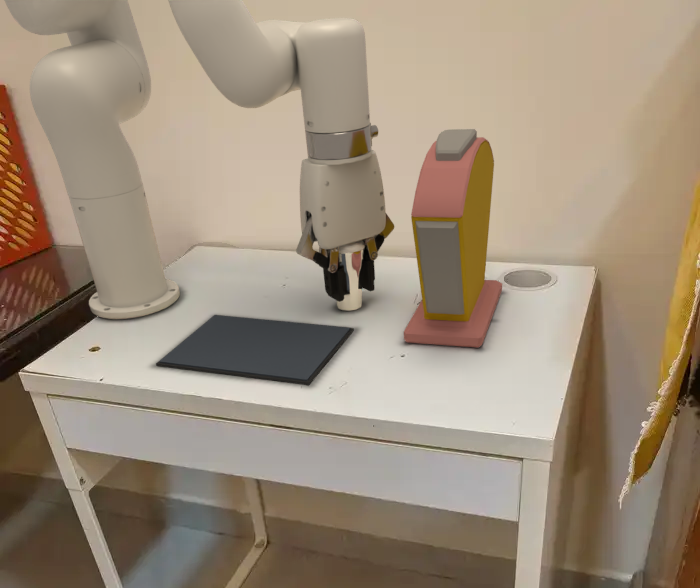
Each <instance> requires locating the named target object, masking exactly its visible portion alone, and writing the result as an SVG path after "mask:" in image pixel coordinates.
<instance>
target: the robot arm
mask: <svg viewBox="0 0 700 588" xmlns="http://www.w3.org/2000/svg"><path fill="white" fill-rule="evenodd" d="M3 1H4V3H5V5H6V7H7V9H8V11H9V13H10V15H11V16H12V18H13V19H14V20H15V21H16V22H17V24H18V25H19V26H20V27H21V28H23V29H24V30H26V31H27V32H28V33H31V34H35V35H38V36H55V35H62V34H66V35H67V37H68V40H69V42H70V45H69V46H64V47H61V48H57V49H55V50H52V51H50V52H48V53H47V54H46V55H44V56H43V57H42V58H40V60H39V61H38V62H37V64H35V66H34V68H33V70H32V73H31V75H30V79H29V96H30V101H31V105H32V107H33V110H34V113H35V115H36V118H37V120H38V122H39V124H40V126H41V128H42V131H43V132H44V134H45V136H46V137H47V138H46V139H47V141H48V142H49V145H50V147H51V149H52V152H53V155H54V156H55V159H56V162H57V165H58V168H59V170H60V173H61V176H62V179H63V183H64V187H65V190H66V193H67V196H68V199H69V202H70V205H71V209H72V212H73V216H74V219H75V222H76V226H77V230H78V233H79V235H80V239H81V242H82V246H83V249H84V253H85V256H86V260H87V262H88V266H89V269H90V272H91V276H92V279H93V283H94V287H95V289H96V292H94V293H93V294H92V295H91V296H90V298H89V300H88V306H89V309H90V312H91V313H92V314H93V315H95V316H97V317H100V318H102V319H110V320H124V319H127V320H128V319H135V318H140V317H144V316H148V315H151V314H154V313H157V312H160V311H162V310H164V309H167V308H168V307H170V306H171V305H173V304H174V303H175V302H176V301H177V300H179V297H180V295H181V293H180V287H179V285H178V283H177V282H175V281H174V280H172V279H169V278H166V276H165V272H164V267H163V264H162V259H161V254H160V251H159V246H158V243H157V238H156V234H155V229H154V226H153V221H152V217H151V212H150V209H149V205H148V200H147V196H146V192H145V189H144V188H145V187H144V184H143V181H142V176H141V172H140V168H139V165H138V160H137V159H136V156H135V154H134V151H133V149H132V147H131V146H130V144H129V141H128V139H127V138H126V136H125V135H124V132H123V130H122V129H121V126H120V125H121V124H123V123H126V122H128V121H130V120H131V119H133V118H135V117H137V116H138V115H140V114H141V113H142V112H143V111H144V110H145V108H146V107H147V106H148V103H149V100H150V98H151V94H152V78H151V71H150V68H149V64H148V61H147V57H146V54H145V51H144V48H143V44H142V42H141V38H140V34H139V31H138V29H137V26H136V21H135V19H134V17H133V13H132V10H131V7H130V4H129V1H128V0H3ZM167 1H168V4H169V7H170V10H171V12H172V15H173V17H174V20H175V22H176V24H177V27H178V28H179V31H180V32H181V34H182V36H183V38H184V40H185V41H186V43H187V45H188V46H189V48H190V50H191V52H192V53H193V55H194V57H195V58H196V59H197V61H198V63H199V64H200V66H201V68H202V69H203V71H204V72H205V74H206V76H207V77H208V78H209V80H210V81H211V83H212V84H213V85H214V87H215V88H216V89H217V91H218V92H220V94H221V95H222V96H223V97H224V98H225V99H227V100H228V101H229V102H231V103H232V104H234V105H235V106H238V107H240V108H245V109H257V108H262V107H264V106H265V105H268V104H270V103H271V102H273V101H275V100H276V99H278V98H280V97H284V96H286V95H287V94H289V93H291V92H295V91H300V95H301V96H300V97H301V106H302V115H303V116H302V117H303V123H304V124H303V125H304V133H305V143H306V151H307V158H304V159H302V160H301V165H300V175H299V214H300V216H299V217H300V228H301V237H300V239H299V242H298V244H297V246H296V249H295V252H296V254H297V255H299V256H301V257H303V258H305V259H307V260H310V261H312V262H314V263H315V264H316V265H318V267H320V268H321V269H322V273H323V283H324V291H325V293H326V295H327V296H328V297H330V298H332V299H334V300H335V301H336V300H337V301H339V302H340V301H343V299H344V289H343V277H342V272H341V271H340V270H338V256H339V246H343V245H346V244H350V243H353V242H357V241H360V240H362V241H363V242H364V244H365V248H364V262H363V280H362V289H363V290H365V291H368V292H373V291H375V281H376V271H375V261H376V259H377V258H378V256H379V254H378V252H379V250H380V249H381V247H382V246H383V245H384V243H385V239H387V238H388V237H389V235H391V233H393V231H394V230H395V224H394V222H393V221H392V219H391V218H390V216H389V215H388V213H387V211H386V200H385V191H384V189H385V188H384V183H383V178H382V177H383V176H382V172H381V168H380V162H379V158H378V155H377V152H376V150H374V149H372V147H373V139H374V138H378V136H379V128H378V125H376V124H373V125H372V123H371V117H370V115H371V114H370V113H371V112H370V97H369V96H370V95H369V80H368V64H367V63H368V61H367V44H366V33H365V29H364V26H363V24H362V22H360V21H359V20H357V19H356V18H352V17H331V18H330V17H329V18H320V19H315V20H310V21H294V20H293V21H292V20H285V19H265V20H261V21H258V22H256V21H255V19H254V17H253V15H252V14H251V12H250V10H249V9H248V7H247V4H246V3H245V2H244V0H167ZM366 239H367V241H366ZM316 242H317V245H318V251H317V250H315V249H314V248H313V246H314V243H316ZM365 242H366V243H365ZM337 301H336V302H337Z"/></svg>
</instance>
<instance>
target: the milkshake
mask: <svg viewBox="0 0 700 588" xmlns="http://www.w3.org/2000/svg"><path fill="white" fill-rule="evenodd" d="M366 241H367V239H366ZM365 243H366V242H365ZM364 248H365V244H364V242H363V241H362V240H360V241H357V242H353V243H350V244H346V245H343V246H339V256H338V270H340V271H341V272H342V277H343V289H344V299H343V301H340V302H339V301H337V300H335V301H336V307H337V309H339V310H342V311H348V312H349V311H356V310H359V309H360V308H362V306H363V305H362V304H363V302H362V301H363V288H362V280H363V262H364Z"/></svg>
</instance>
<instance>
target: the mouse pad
mask: <svg viewBox="0 0 700 588" xmlns="http://www.w3.org/2000/svg"><path fill="white" fill-rule="evenodd" d="M354 331H355V328H354V327H350V326H339V325H327V324H318V323H306V322H297V321H296V322H295V321H287V320H276V319H264V318H254V317H244V316H234V315H233V316H232V315H221V314H214V315H212V316H211V317H210V318H209V319H208V320H207V321H205V322H204V323H203V324H202V325H200V326H199V327H198V328H197V329H195V330H194V331H193V332H192V333H191V334H189V335H188V336H187V337H185V339H184V340H182V341H181V342H180V343H178V345H176V346H175V347H174V348H173V349H172V350H170V351H169V352H168V353H167V354H166V355H164V356H162V358H161V359H160V360H158V361H157V362H156V363H155V366H156V367H163V368H169V369H170V368H171V369H178V370H187V371H195V372H203V373H211V374H217V375H227V376H235V377H242V378H252V379H259V380H260V379H261V380H265V381H266V380H267V381H274V382H281V383H282V382H283V383H290V384H299V385H306V386H310V385H311V383H312V382H313V381H314V380H315V378H316V377H317V376H318V375H319V373H320V372H321V371H322V369H323V368H324V367H325V366H326V365H327V364H328V362H330V360H332V358H333V356H334V355H335V354H336V353H337V351H339V349H340V348H341V346H343V344H344V343H345V342H346V340H347V339H348V338H349V337H350V336H351V334H352V333H353V332H354Z"/></svg>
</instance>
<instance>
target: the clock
mask: <svg viewBox="0 0 700 588" xmlns="http://www.w3.org/2000/svg"><path fill="white" fill-rule="evenodd" d="M477 133H478V131H477V130H476V128H457V129H445V130H443V131H441V132H439V134H438V136H437V138H436V140H435V141H434V142H433V143H432V144H431V145H430V148H429V149H428V151H427V152H426V154H425V157H424V160H423V162H422V165H421V168H420V171H419V175H418V180H417V182H416V183H417V184H416V188H415V191H414V197H413V203H412V209H411V214H410V215H411V217H410V218H411V219H410V220H411V227H412V235H413V241H414V249H415V257H416V264H417V271H418V279H419V286H420V294H421V300H420V302H419V304H418V306H417V307H416V309H415V311H414V313H413V314H412V316H411V318H410V320H409V322H407V323H408V324H407V325H406V327H405V328H404V331H403V340H404V342H406V343H408V344H421V345H433V346H434V345H435V346H449V347H461V348H462V347H464V348H478V349H479V348H480V347H481V346H482V345H483V343H484V341H485V338H486V336H487V333H488V330H489V327H490V324H491V321H492V319H493V317H494V313H495V312H496V311H495V310H496V308H497V305H498V302H499V299H500V298H501V297H500V296H501V294H502V291H503V283H502V282H500V281H498V280H495V279H485V278H486V266H487V256H488V254H487V253H488V244H489V243H488V242H489V231H490V218H491V206H492V195H493V194H492V193H493V183H494V182H493V181H494V172H495V171H494V169H495V160H494V159H495V158H494V153H493V149H492V147H491V144H490V142H489V140H488V139H486V138H485V137H484V136H483V137H482V136H481V137H480V136H479V137H478V136H477V135H478V134H477Z"/></svg>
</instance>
